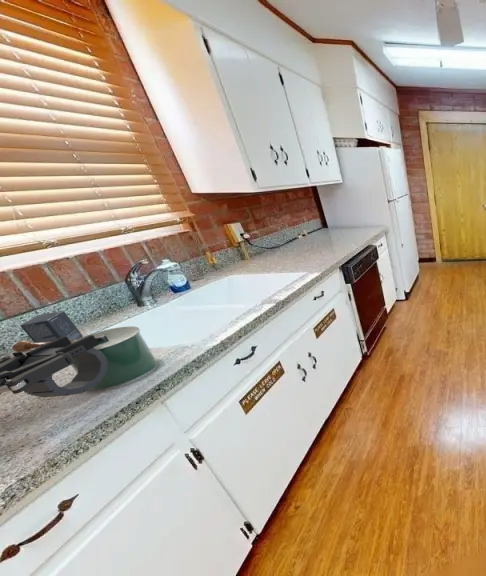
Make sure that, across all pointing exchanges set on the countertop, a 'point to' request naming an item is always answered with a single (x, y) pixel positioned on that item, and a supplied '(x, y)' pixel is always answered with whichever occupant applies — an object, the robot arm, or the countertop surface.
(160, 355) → the countertop surface
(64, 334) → the box
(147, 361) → the saucepan
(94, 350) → the tire
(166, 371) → the countertop surface
